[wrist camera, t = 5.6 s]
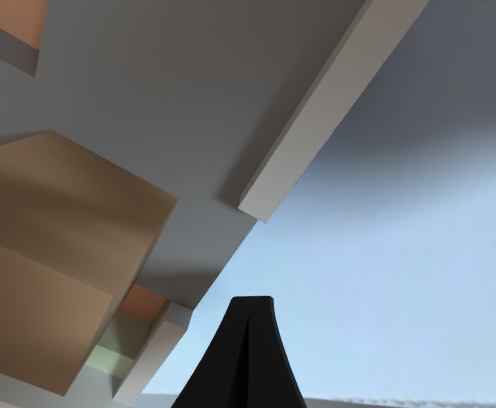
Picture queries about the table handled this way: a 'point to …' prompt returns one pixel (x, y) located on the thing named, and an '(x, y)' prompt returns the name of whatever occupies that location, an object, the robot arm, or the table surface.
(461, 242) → the table surface
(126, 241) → the walnut block
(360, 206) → the table surface
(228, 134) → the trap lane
